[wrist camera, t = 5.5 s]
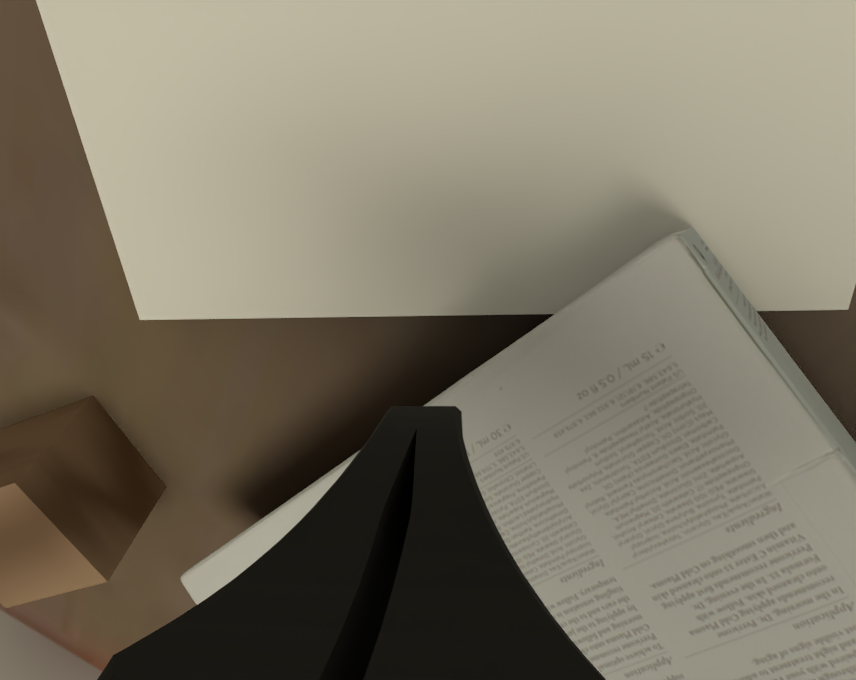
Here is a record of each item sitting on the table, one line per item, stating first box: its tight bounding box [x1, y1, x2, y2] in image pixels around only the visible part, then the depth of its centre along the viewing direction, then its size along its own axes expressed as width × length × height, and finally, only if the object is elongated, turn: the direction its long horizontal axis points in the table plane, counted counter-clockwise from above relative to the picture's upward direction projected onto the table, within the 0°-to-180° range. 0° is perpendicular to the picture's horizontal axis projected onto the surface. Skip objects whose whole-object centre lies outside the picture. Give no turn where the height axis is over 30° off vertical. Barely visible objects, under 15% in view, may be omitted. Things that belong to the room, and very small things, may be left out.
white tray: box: [36, 0, 856, 320], centre depth 17 cm, size 17×23×2 cm
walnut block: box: [0, 396, 166, 608], centre depth 26 cm, size 5×5×5 cm
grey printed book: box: [181, 227, 856, 680], centre depth 21 cm, size 21×5×16 cm
